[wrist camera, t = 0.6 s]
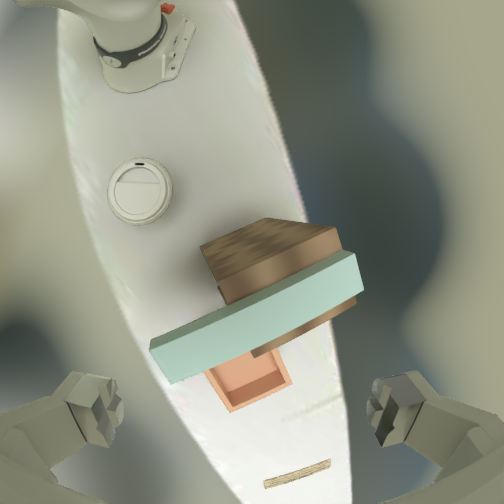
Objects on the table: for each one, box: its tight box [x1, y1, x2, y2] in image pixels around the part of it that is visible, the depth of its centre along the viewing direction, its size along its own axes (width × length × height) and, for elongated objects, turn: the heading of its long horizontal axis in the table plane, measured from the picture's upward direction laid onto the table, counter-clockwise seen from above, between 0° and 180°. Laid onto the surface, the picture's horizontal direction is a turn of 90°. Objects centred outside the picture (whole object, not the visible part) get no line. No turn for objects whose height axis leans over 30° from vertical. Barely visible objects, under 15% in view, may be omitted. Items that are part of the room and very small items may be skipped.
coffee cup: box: [107, 158, 172, 225], centre depth 42 cm, size 10×10×15 cm
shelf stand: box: [200, 218, 357, 358], centre depth 43 cm, size 14×10×26 cm
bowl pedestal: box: [204, 348, 293, 413], centre depth 50 cm, size 12×12×16 cm
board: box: [149, 250, 364, 384], centre depth 28 cm, size 23×4×2 cm, turn 112°
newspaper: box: [264, 459, 331, 489], centre depth 71 cm, size 24×7×2 cm, turn 97°
